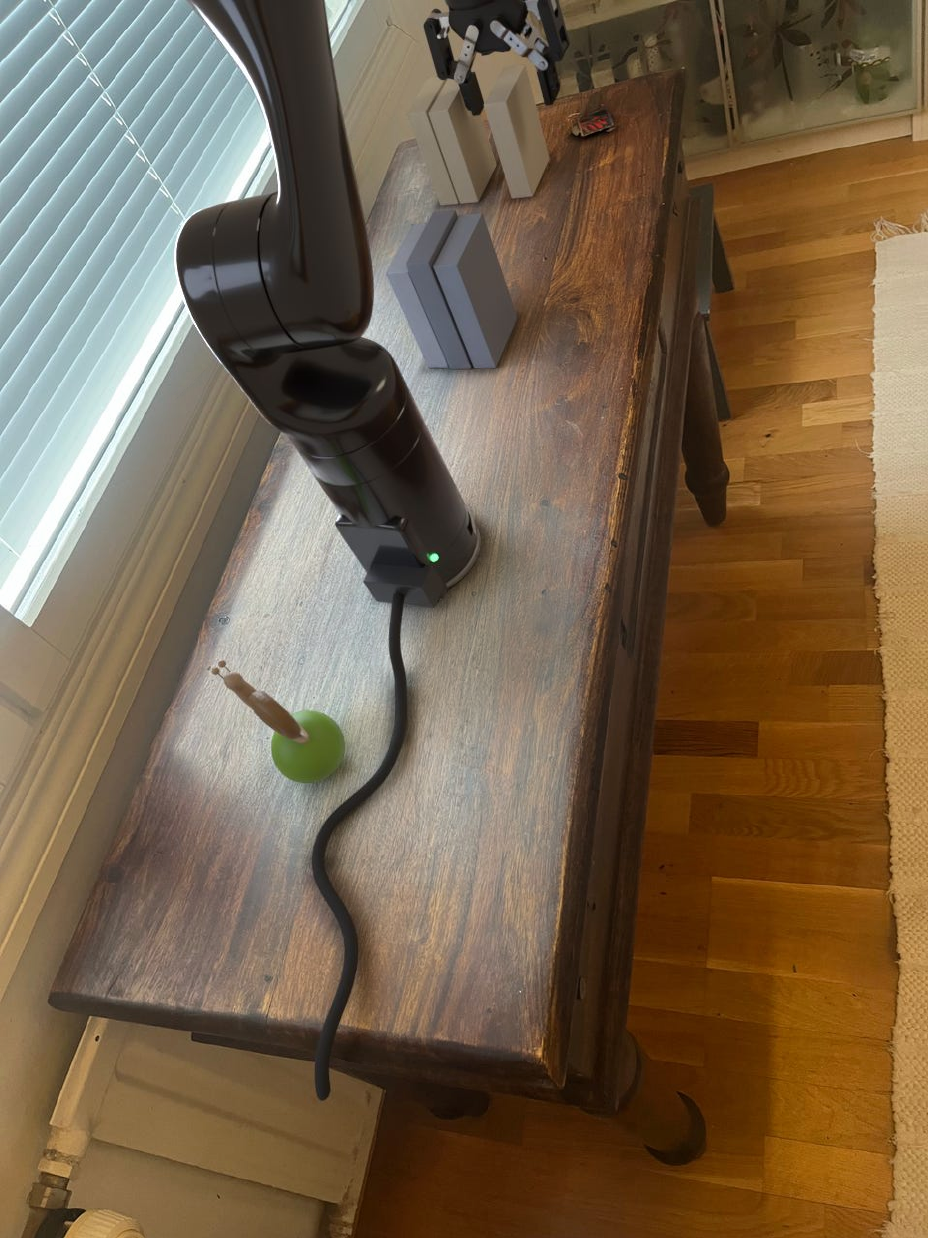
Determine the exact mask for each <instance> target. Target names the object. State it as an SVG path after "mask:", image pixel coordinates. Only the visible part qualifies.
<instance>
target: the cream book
mask: <svg viewBox="0 0 928 1238" xmlns="http://www.w3.org/2000/svg"><path fill="white" fill-rule="evenodd" d="M484 111H485V114H486V118H487V122H488V124H489V128H490V131H491V133H492V138H493V141H494V144H495V148H496V150H497V154H498V158H499V160H500V164H501V167H502V170H503V174H504V178H505V180H506V184H507V188H508V190H509V195H510V197H511V199H524V198H533V197H534V195H535V192H536V190H537V188H538V186H539V184H540V182H541V180H542V177H543V175H544V173H545V171H546V168H547V166H548V164H549V162H550V159H551V158H550V153H549V151H548V147H547V143H546V139H545V135H544V131H543V127H542V123H541V120H540V116H539V112H538V107H537V104H536V100H535V96H534V92H533V88H532V84H531V82H530V77H529V73H528V70H527V65H526V63H521V64H516V65H515V64H514V65H509V66H503V68H502V69H501V71H500V72H499V75H498V77H497V78H496V81H495V82H494V84H493V86H492V88H491V90H490V92H489V93H488V96H487V98H486V100H484Z"/></svg>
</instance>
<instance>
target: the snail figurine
mask: <svg viewBox="0 0 928 1238" xmlns="http://www.w3.org/2000/svg"><path fill="white" fill-rule="evenodd" d="M226 665H227V662H226V660H225V659H220V660H219V661H218V662H217V666H213V667H212V669H211V674H212V675H214V676H216V675H218V676H219V677H220V678H221V679H222V681H223V684H224V685H225V687H226V689H228V690H229V691H232V692H233V693H234V694H235V695H236V696H237V697H238V698H239V700H240V701H241V702H242V703H244V704H245V705H246V706H247V707H249V708H250V709H251V710H253V713H254V714H255V715H256V717H258V718H259V719H260V720H261V722H263V723H264V724H265V725H266V726H268V727H269V728H270V729H271V730H272V731H274V732H273V735H272V738H271V743H270V753H271V759H272V761H273V764H274V766H275V767H276V768H277V770H278V772H280V774H282V775H283V776H284V777H285V778H286V779H288V780H290V781H292V782H295V783H298V784H302V785H303V784H305V785H310V784H316V783H320V782H322V781H324V780H326V779H328V778H330V777H331V776H332V775H333V774H334V773H335V772H336V771H337V770H338V768H339V767H340V765H341V763H342V761H343V759H344V755H345V749H346V742H345V737H344V733H343V731H342V729H341V728H340V726H339V724H338V723H337V722H336V720H334V719H333V718H332V717H331V716H330V715H327V713H324V712H321V711H317V710H312V709H311V710H310V709H307V710H305V709H304V710H300V711H297V712H294V713H292V714H291V712H290V711H288V710H287V709H286V708H284V706H282V705H281V704H280V703H279V702H278V701H276V700H275V699H274V698H273V697H272V696H270V695H269V694H268V693H267V692H265V691H264V690H258V689H256V688H255V687H254V686H253V685H252V684H250V683H249V682H247V681H246V680H245V679H244V677H243V676H242V674H240V672H237V671H234V670H233V671H232V670H230V669H229V668H228V667H227V666H226ZM220 668H225V669H226V671H228V672H226V673H225V674H224V676H222V674H220Z"/></svg>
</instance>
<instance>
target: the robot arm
mask: <svg viewBox="0 0 928 1238" xmlns="http://www.w3.org/2000/svg"><path fill="white" fill-rule="evenodd" d="M185 1H186V2H187V4H188V5H189V6H190V8H191V9H192V10H193V13H195V14H196V16H197V17H198V19H199V20H200V21H201V22H202V24H203V25H204V27H206V29H207V30H208V32H209V33H210V34H211V35H212V36H213V38H214V39H215V40H216V41H217V42H218V44H219V46H221V48H222V49H223V50H224V51H225V53H226V54H227V56H228V57H229V58H230V59H231V61H232V63H233V64H234V65H235V67H236V68H237V69H238V70H239V72H240V73H241V75H242V77H243V78H244V80H245V81H246V84H247V85H248V86H249V88H250V90H251V91H252V94H253V95H254V97H255V99H256V102H257V103H258V106H259V108H260V111H261V114H262V117H263V120H264V123H265V126H266V131H267V133H268V137H269V142H270V145H271V149H272V154H273V158H274V164H275V171H276V176H277V184H278V187H277V188H278V190H276V191H272V192H268V193H267V192H266V193H263V194H259V195H258V194H257V195H253V196H250V197H245V198H241V199H236V200H232V201H231V200H230V201H226V202H222V203H217V204H213V205H210V206H207V207H203V208H201V209H199V210H197V211H195V212H193V213H192V214H191V215H190V216H189V217H188V218H187V219H186V220H185V221H184V222H183V224H182V226H181V227H180V230H179V232H178V234H177V237H176V239H175V240H176V241H175V246H174V268H175V276H176V279H177V283H178V288H179V291H180V295H181V297H182V300H183V302H184V303H183V304H184V305H185V308H186V310H187V312H188V315H190V318H191V321H192V322H193V324H194V325H195V327H196V329H197V330H198V333H199V334H200V335H201V337H202V339H203V340H204V342H205V343H206V346H207V347H208V348H209V349H210V350H211V352H212V353H213V355H214V356H215V358H217V360H218V361H219V363H220V364H221V365H222V367H223V368H224V369H225V371H226V372H227V373H228V374H229V375H230V377H231V378H232V379H233V381H234V382H235V383H236V385H237V386H238V387H239V389H240V390H241V391H242V392H243V394H244V395H245V396H246V398H247V399H248V400H249V401H250V403H251V404H252V406H253V407H254V408H255V409H256V411H257V412H258V413H259V415H260V416H261V417H262V418H263V419H264V420H265V421H266V422H267V424H269V425H270V426H271V427H272V428H273V429H276V430H277V431H278V432H280V433H282V434H284V435H286V436H287V438H288V439H289V440H290V442H291V443H292V445H293V447H294V449H296V451H297V453H298V454H299V456H300V457H301V459H302V460H303V462H304V463H305V465H306V466H307V468H308V469H309V471H310V473H311V474H312V475H313V477H314V478H315V480H316V481H317V483H318V485H319V486H320V487H321V489H322V491H323V492H324V494H325V496H326V497H327V498H328V500H329V501H330V503H331V504H332V505H333V508H334V509H335V510H336V512H337V513H338V515H337V518H336V519H335V521H334V527H335V528H336V530H337V531H338V532H339V534H340V535H341V537H342V539H343V540H344V542H345V543H346V544H347V546H348V547H349V549H350V550H351V551H352V552H351V553H353V555H354V556H355V558H356V559H357V561H358V562H359V563H360V565H361V566H362V568H363V569H364V571H365V572H366V574H365V577H364V579H363V581H362V583H363V584H364V585H365V587H366V588H367V590H368V591H369V593H370V594H371V596H372V597H373V598H374V600H375V601H376V602H379V603H385V604H386V603H387V604H391V609H390V617H389V626H388V655H389V659H390V664H391V669H392V672H393V679H394V681H393V682H394V722H393V729H392V730H393V731H392V734H391V739H390V743H389V746H388V748H387V751H386V753H385V755H384V758H383V760H382V762H381V764H380V766H379V767H378V769H377V770H376V771H375V773H374V774H373V775H372V776H371V777H370V778H369V780H368V781H366V783H364V784H363V785H362V786H361V787H360V788H359V789H358V790H357V791H355V792H354V793H353V794H351V796H349V797H348V798H347V799H345V801H343V802H342V803H341V804H340V805H339V806H338V807H337V808H336V809H334V811H332V813H331V814H330V815H329V816H328V817H327V819H326V820H325V821H324V822H323V824H322V826H321V828H320V829H319V831H318V833H317V835H316V838H315V841H314V845H313V848H312V854H311V870H312V871H311V872H312V875H313V879H314V881H315V884H316V886H317V888H318V891H319V893H320V894H321V896H322V897H323V899H324V901H325V902H326V904H327V906H328V907H329V909H330V910H331V912H332V914H333V915H334V917H335V919H336V921H337V923H338V925H339V928H340V930H341V931H340V932H341V935H342V938H343V949H344V954H343V956H344V957H343V964H342V971H341V975H340V979H339V983H338V985H337V989H336V992H335V995H334V997H333V999H332V1002H331V1005H330V1006H329V1010H328V1013H327V1015H326V1018H325V1020H324V1023H323V1026H322V1029H321V1031H320V1035H319V1038H318V1043H317V1047H316V1053H315V1059H314V1086H315V1087H314V1088H315V1093H316V1097H317V1099H318V1100H319V1101H320V1102H321V1101H326V1100H327V1099H328V1098H329V1097H330V1094H331V1090H332V1089H331V1080H330V1060H331V1053H332V1048H333V1044H334V1041H335V1038H336V1034H337V1032H338V1028H339V1025H340V1023H341V1020H342V1017H343V1015H344V1013H345V1009H346V1007H347V1004H348V1002H349V999H350V996H351V994H352V990H353V987H354V985H355V980H356V975H357V970H358V963H359V940H358V933H357V930H356V925H355V923H354V920H353V918H352V915H351V913H350V911H349V910H348V908H347V906H346V905H345V903H344V901H343V900H342V898H341V897H340V895H339V893H338V892H337V890H336V889H335V887H334V886H333V884H332V882H331V880H330V878H329V875H328V873H327V868H326V859H325V857H326V851H327V847H328V843H329V840H330V838H331V836H332V834H333V833H334V831H335V830H336V828H337V827H338V826H339V825H340V824H341V822H342V821H344V819H345V818H347V816H349V814H351V813H352V812H353V811H354V810H355V809H356V808H358V807H360V805H361V804H362V803H364V802H365V801H366V800H367V799H369V798H370V797H371V796H372V795H373V794H374V793H375V792H376V791H377V790H378V789H379V788H380V787H381V786H382V785H383V784H384V782H385V781H386V780H387V778H388V777H389V776H390V774H391V772H392V770H393V769H394V766H395V765H396V764H397V760H398V759H399V756H400V753H401V750H402V748H403V744H404V740H405V736H406V732H407V731H406V730H407V724H408V723H407V722H408V693H407V692H408V691H407V689H408V687H407V686H408V685H407V673H406V668H405V663H404V660H403V654H402V646H401V639H402V638H401V635H402V622H403V613H404V606H410V607H411V606H412V607H418V608H419V607H420V608H429V609H435V608H436V605H437V603H438V602H439V601H440V600H443V599H444V598H445V596H446V594H447V591H448V590H449V589H450V588H451V587H454V586H455V585H456V584H457V583H458V582H460V581H461V580H462V579H464V578H465V576H466V575H467V574H469V572H470V571H471V569H472V568H473V567H474V565H475V564H476V562H477V559H478V558H479V554H480V552H481V545H482V537H481V533H480V529H479V527H478V525H477V523H476V521H475V517H474V511H473V509H472V507H471V505H470V504H468V507H467V505H466V503H465V501H464V500H463V497H462V495H461V493H460V490H459V489H458V487H457V485H456V483H455V481H454V479H453V477H452V475H451V473H450V471H449V469H448V466H447V465H446V462H445V461H444V458H443V456H442V454H441V452H440V450H439V448H438V446H437V444H436V442H435V440H434V438H433V436H432V434H431V432H430V430H429V428H428V425H427V423H426V422H425V419H424V417H423V416H422V414H421V411H420V409H419V407H418V405H417V402H416V401H415V398H414V397H413V394H412V392H411V391H410V388H409V386H408V384H407V383H406V380H405V377H404V376H403V374H402V372H401V369H400V367H399V365H398V364H397V362H396V360H395V359H394V357H393V356H392V354H391V353H390V352H389V351H388V349H386V348H385V347H384V346H383V345H382V344H380V343H378V342H376V341H375V340H372V339H369V338H366V337H363V336H364V334H365V333H366V332H367V330H368V328H369V326H370V323H371V320H372V317H373V311H374V304H375V303H374V301H375V281H374V280H375V279H374V270H373V269H374V267H373V261H372V260H373V259H372V254H371V247H370V239H369V235H368V230H367V224H366V219H365V214H364V208H363V205H362V204H363V203H362V201H361V195H360V189H359V186H358V185H359V184H358V180H357V175H356V171H355V166H354V162H353V157H352V151H351V148H350V143H349V138H348V132H347V128H346V123H345V118H344V114H343V109H342V103H341V98H340V93H339V87H338V81H337V76H336V69H335V63H334V56H333V50H332V45H331V36H330V28H329V20H328V15H327V14H328V13H327V8H326V0H185ZM444 2H445V5H446V6H447V7H448V11H447V12H446V11H445V12H442V11H441V10H440V9H438V8H433V9H432V10H431V12H430V14H429V15H428V16H427V18H426V19H425V21H424V23H423V25H422V26H423V31H424V34H425V37H426V41H427V45H428V49H429V52H430V56H431V59H432V62H433V66H434V69H435V73H436V76H438V78H439V79H440V80H446V79H447V78H448V79H453V80H455V81H456V83H458V85H459V88H460V91H461V94H462V97H463V100H464V104H465V107H466V108H467V109H468V111H471V112H472V115H473V116H477V115H480V114H481V115H482V112H483V110H485V108H484V103H485V100H484V97H483V93H482V91H481V87H480V84H479V80H478V77H477V74H476V71H472V68H473V65H474V62H475V60H476V56H477V53H478V54H481V56H482V57H484V56H489V55H492V54H493V53H495V52H497V53H506V52H507V53H508V52H510V51H511V49H512V50H513V51H515V53H517V54H518V55H519V56H520V57H521V58H526V59H527V60H528V61H530V62H531V63H532V64H533V65H534V66H535V67H536V68H537V71H536V75H537V79H538V83H539V86H540V90H541V95H542V99H543V102H544V106H545V107H548V106H553V105H554V104H555V102H556V99H557V97H558V95H559V93H560V91H561V82H560V78H559V74H558V69H557V66H556V62H557V63H558V62H561V61H562V60H563V59H564V57H565V54H566V52H567V50H568V49H569V47H570V44H571V41H570V37H569V34H568V30H567V27H566V23H565V19H564V16H563V12H562V7H561V6H560V2H559V0H444ZM529 12H532V14H534V16H535V19H536V20H537V21H541V25H542V28H543V31H544V34H545V38H544V37H543V36H542V35H541V32H540V29H539V28H538V27H537V26H536V25H534V24H533V23H532V22H531V21H530V20H529V19H528V15H529ZM450 30H452V31H453V32H454V33H455V34H456V35H457V36H458V37H459V38H460V39H462V41H463V43H462V47H461V49H460V53H459V56H458V59H457V60H456V59H455V57H454V52H453V49H452V45H451V42H450V38H449V33H450ZM521 35H523V37H522V36H521ZM524 38H525V39H524Z"/></svg>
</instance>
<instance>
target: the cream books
mask: <svg viewBox="0 0 928 1238" xmlns="http://www.w3.org/2000/svg"><path fill="white" fill-rule="evenodd" d="M406 116H407V120H408V122H409V125H410V127H411V130H412V133H413V135H414V138H415V141H416V143H417V146H418V149H419V151H420V154H421V157H422V160H423V163H424V165H425V168H426V170H427V173H428V176H429V179H430V181H431V184H432V187H433V189H434V192H435V195H436V197H437V199H438V202H439V205H440V206H441V207H442V206H451V205H459V204H461V205H462V204H472V203H473V204H475V203H479V202H480V200H481V198H482V196H483V194H484V192H485V190H486V188H487V186H488V184H489V181H490V180H491V178H492V176H493V174H494V171H495V170H496V168H497V161H496V158H495V155H494V151H493V148H492V145H491V141H490V139H489V136H488V132H487V129H486V126H485V125H486V124H485V123H484V119H483V115H482V113H481V114H480V115H477V116H473V115H472V112H471V111H468V109H467V108H466V107H465V104H464V100H463V97H462V94H461V91H460V88H459V85H458V83H456V81H455V80H453V79H448V78H447V79H446V80H440V79H439V78H438V76H437V75H436V76H431V77H427V79H426V80H425V82H424V84H423V86H422V87H421V89H420V90H419V92H418V94H417V96H416V98H415V100H414V101H413V103H412V104H411V105H410V107H409V110H408V111H407V112H406Z"/></svg>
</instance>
